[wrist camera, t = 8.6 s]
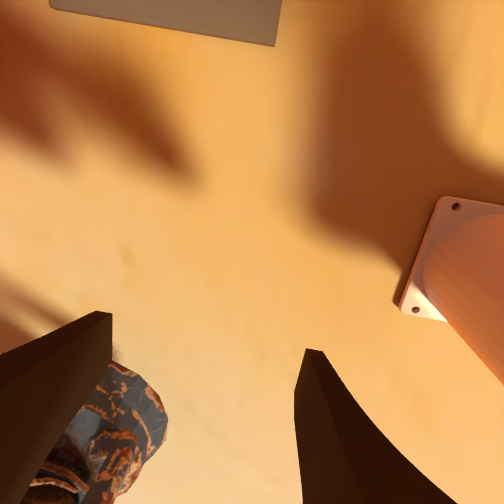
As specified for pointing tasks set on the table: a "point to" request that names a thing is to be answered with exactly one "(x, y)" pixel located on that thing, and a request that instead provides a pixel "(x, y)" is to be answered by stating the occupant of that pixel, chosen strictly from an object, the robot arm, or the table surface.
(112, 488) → the lantern
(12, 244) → the table surface
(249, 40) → the rubber mat
